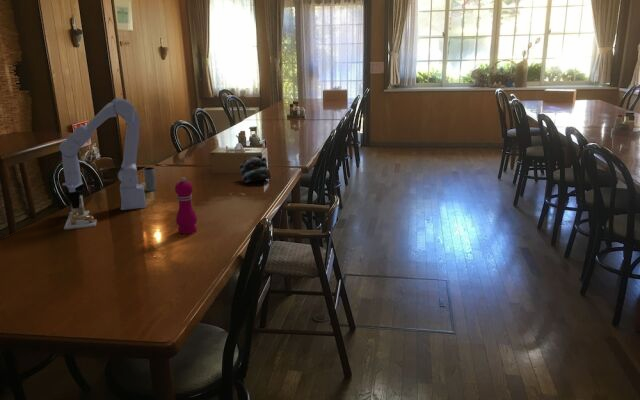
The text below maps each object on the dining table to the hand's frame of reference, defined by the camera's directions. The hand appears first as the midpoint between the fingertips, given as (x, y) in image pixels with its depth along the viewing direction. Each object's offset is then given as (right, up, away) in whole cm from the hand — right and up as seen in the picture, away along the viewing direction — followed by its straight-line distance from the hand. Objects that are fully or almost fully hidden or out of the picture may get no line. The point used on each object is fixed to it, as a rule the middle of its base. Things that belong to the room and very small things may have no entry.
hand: (77, 205), depth 200 cm
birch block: (0, -3, +1) cm, 4 cm away
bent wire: (+6, -6, -8) cm, 11 cm away
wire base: (+6, -7, -8) cm, 12 cm away
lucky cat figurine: (+63, +11, +49) cm, 81 cm away
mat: (0, -4, +1) cm, 4 cm away
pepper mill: (+48, -9, -18) cm, 52 cm away
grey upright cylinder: (+17, +6, +35) cm, 40 cm away
